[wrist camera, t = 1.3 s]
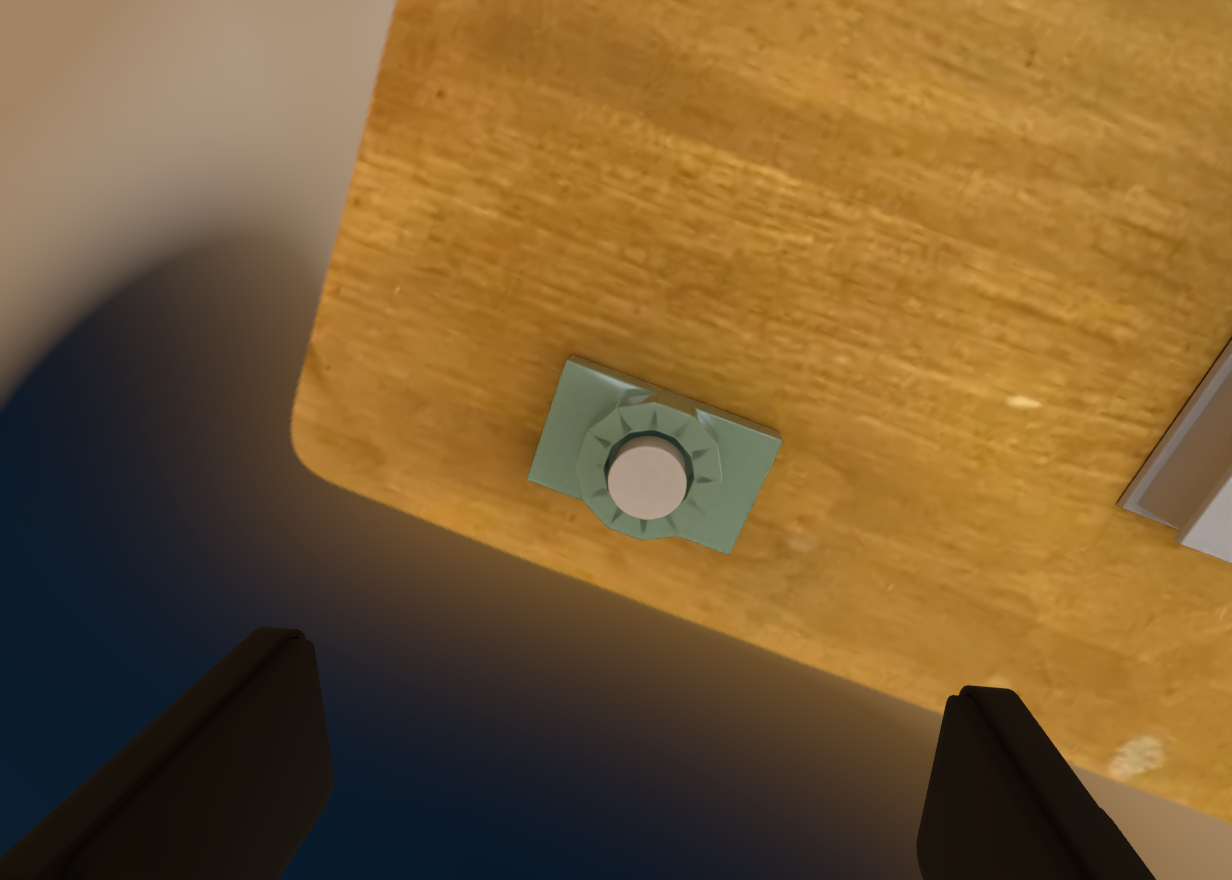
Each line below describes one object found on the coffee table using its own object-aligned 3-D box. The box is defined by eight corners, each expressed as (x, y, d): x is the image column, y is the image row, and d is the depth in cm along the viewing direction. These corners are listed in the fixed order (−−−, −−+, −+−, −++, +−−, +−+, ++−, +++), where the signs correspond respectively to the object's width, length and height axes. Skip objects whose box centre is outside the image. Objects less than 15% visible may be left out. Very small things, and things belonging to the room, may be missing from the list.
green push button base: (532, 470, 30) (516, 494, 27) (572, 352, 28) (559, 365, 25) (727, 542, 30) (731, 574, 27) (779, 430, 28) (789, 451, 25)
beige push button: (601, 489, 27) (597, 504, 26) (626, 423, 26) (622, 434, 25) (670, 515, 27) (669, 531, 26) (698, 450, 26) (698, 463, 25)
